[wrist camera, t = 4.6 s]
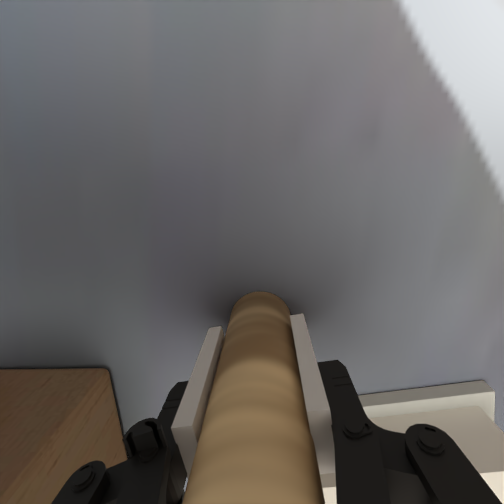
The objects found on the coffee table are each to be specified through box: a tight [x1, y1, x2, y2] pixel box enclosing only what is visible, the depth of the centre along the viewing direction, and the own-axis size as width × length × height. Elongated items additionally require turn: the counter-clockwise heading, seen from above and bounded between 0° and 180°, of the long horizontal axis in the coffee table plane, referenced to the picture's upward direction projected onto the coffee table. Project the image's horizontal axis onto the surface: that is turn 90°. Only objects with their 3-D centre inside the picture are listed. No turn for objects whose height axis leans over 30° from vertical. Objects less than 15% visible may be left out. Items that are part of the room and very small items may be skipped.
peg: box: [182, 291, 325, 504], centre depth 11 cm, size 4×4×14 cm
